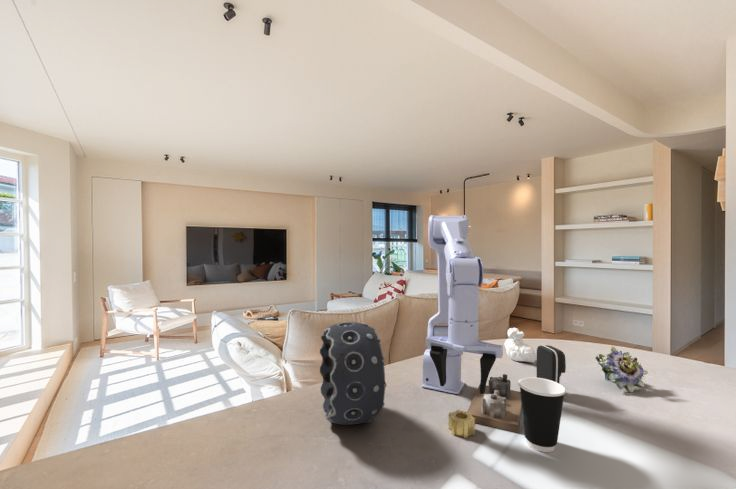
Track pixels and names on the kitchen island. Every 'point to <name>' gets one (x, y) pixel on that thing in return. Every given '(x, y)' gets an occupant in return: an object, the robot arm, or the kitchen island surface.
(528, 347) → the bust
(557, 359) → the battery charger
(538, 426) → the dixie cup
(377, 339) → the dark grey patterned wheel
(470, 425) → the brass gear
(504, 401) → the gear board
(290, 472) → the kitchen island surface
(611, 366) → the passion flower
